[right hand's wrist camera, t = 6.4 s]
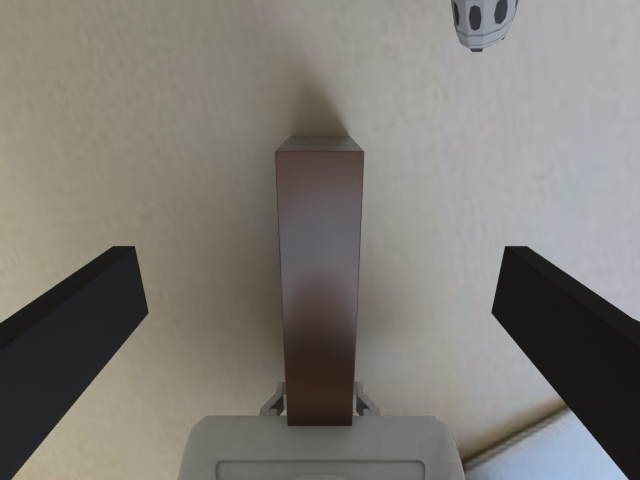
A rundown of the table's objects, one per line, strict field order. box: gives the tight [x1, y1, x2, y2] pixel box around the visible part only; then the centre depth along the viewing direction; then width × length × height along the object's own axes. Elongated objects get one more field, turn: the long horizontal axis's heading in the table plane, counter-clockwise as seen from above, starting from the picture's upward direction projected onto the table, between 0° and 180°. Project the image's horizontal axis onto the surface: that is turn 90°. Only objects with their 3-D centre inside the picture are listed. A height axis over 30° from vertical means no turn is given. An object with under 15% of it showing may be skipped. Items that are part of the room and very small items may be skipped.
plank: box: [275, 136, 364, 426], centre depth 29 cm, size 26×5×10 cm, turn 0°
